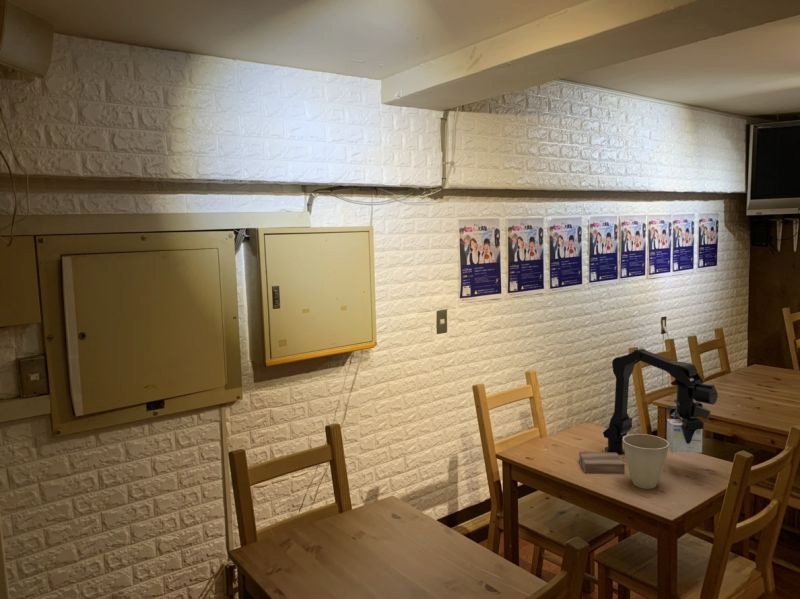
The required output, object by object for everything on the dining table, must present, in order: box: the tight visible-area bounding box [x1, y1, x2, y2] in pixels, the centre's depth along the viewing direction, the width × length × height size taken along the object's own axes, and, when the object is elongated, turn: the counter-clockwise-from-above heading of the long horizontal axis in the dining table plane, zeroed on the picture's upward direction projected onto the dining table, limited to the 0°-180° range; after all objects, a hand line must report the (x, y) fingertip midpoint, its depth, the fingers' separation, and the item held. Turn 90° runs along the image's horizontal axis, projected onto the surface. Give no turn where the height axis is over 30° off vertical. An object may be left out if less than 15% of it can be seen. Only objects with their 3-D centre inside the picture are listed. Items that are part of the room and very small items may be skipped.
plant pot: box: [623, 433, 669, 490], centre depth 212 cm, size 15×15×16 cm
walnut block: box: [578, 451, 625, 475], centre depth 229 cm, size 12×14×4 cm
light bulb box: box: [666, 418, 703, 453], centre depth 220 cm, size 11×7×11 cm, turn 85°
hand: (684, 440), depth 220 cm, fingers closed on light bulb box, 7 cm apart
